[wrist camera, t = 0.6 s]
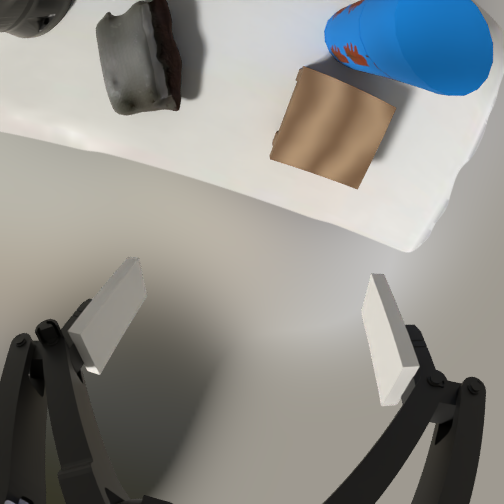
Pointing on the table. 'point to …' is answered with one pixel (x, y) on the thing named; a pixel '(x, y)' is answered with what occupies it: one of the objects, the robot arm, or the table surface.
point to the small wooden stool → (331, 128)
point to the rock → (140, 59)
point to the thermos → (415, 42)
